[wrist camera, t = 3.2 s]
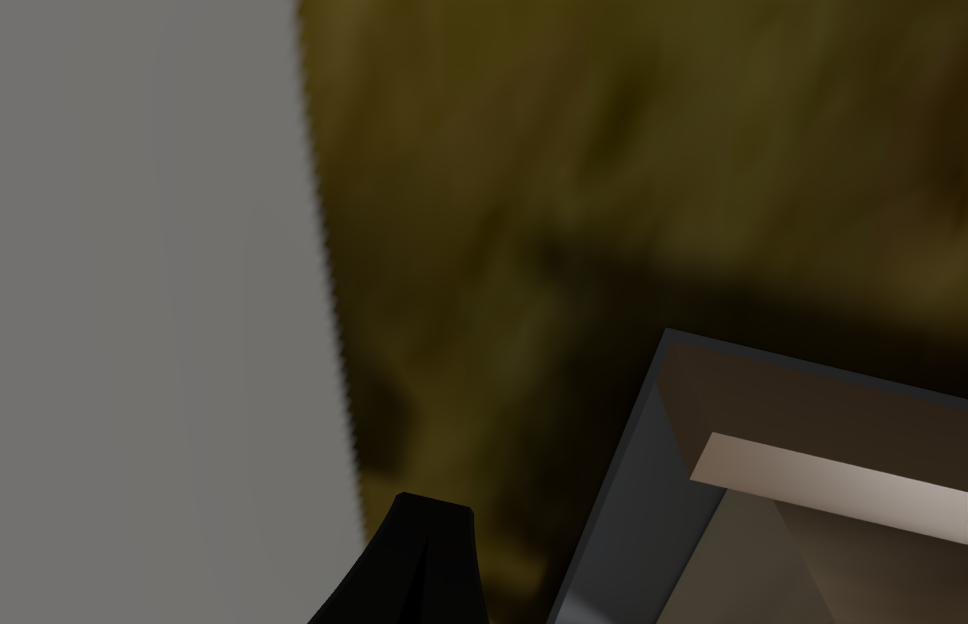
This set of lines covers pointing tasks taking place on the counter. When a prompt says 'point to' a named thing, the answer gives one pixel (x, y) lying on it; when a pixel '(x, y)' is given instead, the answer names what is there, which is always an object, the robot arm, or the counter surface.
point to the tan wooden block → (816, 570)
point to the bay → (757, 465)
